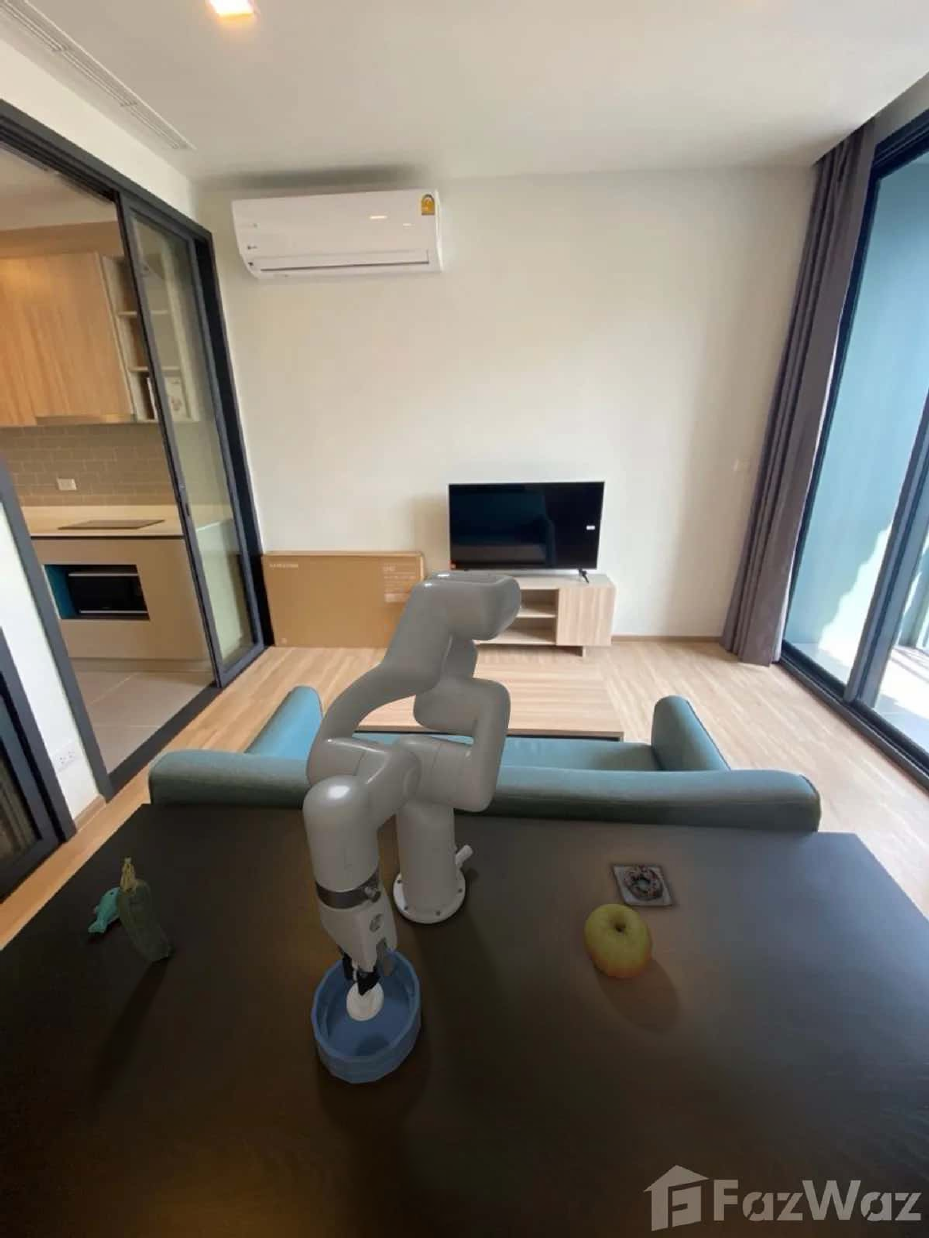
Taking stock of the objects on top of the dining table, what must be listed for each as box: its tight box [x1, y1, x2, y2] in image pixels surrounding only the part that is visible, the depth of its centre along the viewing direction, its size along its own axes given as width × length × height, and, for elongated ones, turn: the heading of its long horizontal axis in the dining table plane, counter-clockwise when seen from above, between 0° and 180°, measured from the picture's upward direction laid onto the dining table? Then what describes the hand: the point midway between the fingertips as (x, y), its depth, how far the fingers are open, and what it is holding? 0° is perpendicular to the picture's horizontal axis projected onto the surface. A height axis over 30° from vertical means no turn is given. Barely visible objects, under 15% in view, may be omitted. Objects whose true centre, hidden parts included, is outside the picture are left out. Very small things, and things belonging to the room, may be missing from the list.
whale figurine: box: [87, 886, 121, 934], centre depth 84 cm, size 6×7×4 cm
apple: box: [583, 902, 653, 980], centre depth 75 cm, size 10×10×8 cm
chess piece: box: [346, 960, 384, 1021], centre depth 65 cm, size 5×5×10 cm
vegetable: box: [115, 857, 171, 963], centre depth 73 cm, size 4×4×20 cm
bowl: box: [310, 947, 422, 1084], centre depth 68 cm, size 14×14×5 cm
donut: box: [612, 863, 673, 907], centre depth 87 cm, size 8×8×2 cm
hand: (362, 977), depth 65 cm, fingers closed on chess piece
